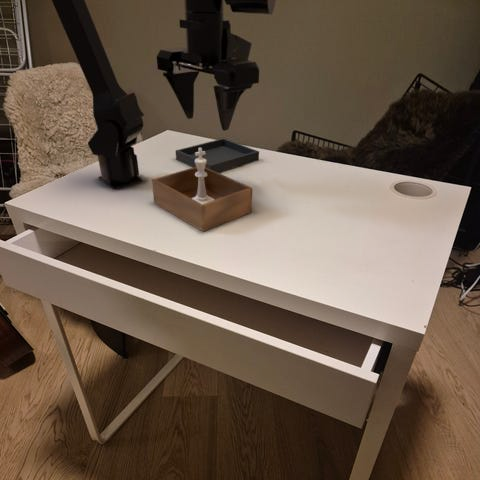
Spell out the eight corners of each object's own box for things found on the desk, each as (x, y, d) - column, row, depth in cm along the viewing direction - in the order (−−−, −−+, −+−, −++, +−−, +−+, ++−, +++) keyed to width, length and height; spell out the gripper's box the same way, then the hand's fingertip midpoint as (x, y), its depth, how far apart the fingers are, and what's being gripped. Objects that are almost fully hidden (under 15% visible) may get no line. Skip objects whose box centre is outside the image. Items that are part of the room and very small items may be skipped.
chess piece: (184, 202, 75) (180, 145, 69) (208, 197, 77) (207, 141, 71) (195, 213, 72) (192, 154, 66) (220, 208, 74) (220, 150, 67)
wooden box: (202, 231, 68) (201, 206, 65) (154, 203, 76) (151, 179, 73) (251, 212, 74) (252, 188, 71) (202, 187, 82) (201, 165, 79)
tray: (210, 175, 87) (210, 165, 85) (176, 159, 93) (175, 150, 92) (258, 160, 94) (259, 151, 93) (223, 146, 101) (223, 138, 100)
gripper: (287, 14, 61) (278, 127, 71) (204, 5, 71) (206, 106, 81) (232, 17, 55) (231, 140, 65) (149, 7, 65) (160, 115, 75)
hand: (207, 124), depth 71 cm, fingers open, 9 cm apart
